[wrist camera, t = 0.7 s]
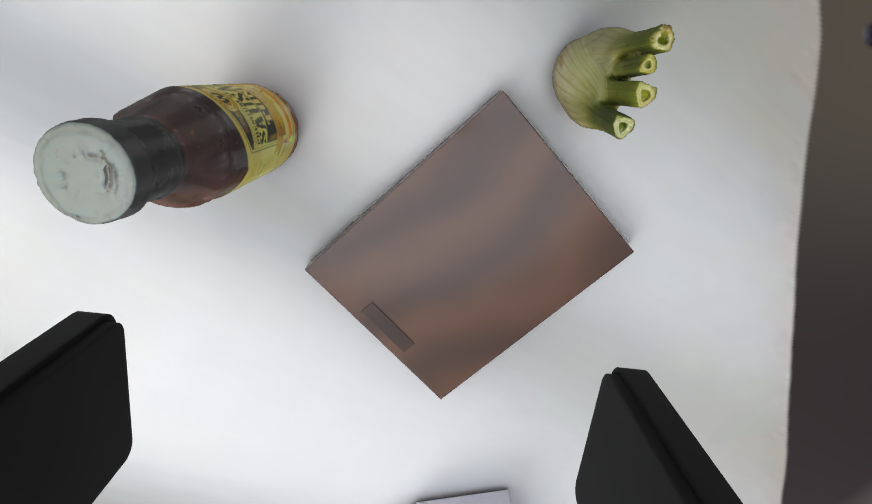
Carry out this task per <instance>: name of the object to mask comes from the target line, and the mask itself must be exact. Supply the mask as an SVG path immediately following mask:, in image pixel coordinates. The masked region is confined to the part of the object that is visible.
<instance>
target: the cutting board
mask: <svg viewBox="0 0 872 504" xmlns="http://www.w3.org/2000/svg"><path fill="white" fill-rule="evenodd" d="M633 252H634V251H633V250H632V249H631V248H630V246H629V245H628V244H627V243H626V241H625V240H624V239H623V238H622V236H621V235H620V234H619V233H618V232H617V230H616V229H615V228H614V227H613V225H612V224H611V223H610V222H609V220H608V219H607V218H606V217H605V216H604V214H603V213H602V212H601V211H600V209H599V208H598V207H597V206H596V204H595V203H594V202H593V201H592V200H591V198H590V197H589V196H588V195H587V193H586V192H585V191H584V190H583V188H582V187H581V186H580V185H579V184H578V182H577V181H576V180H575V179H574V177H573V176H572V175H571V174H570V172H569V171H568V170H567V169H566V168H565V166H564V165H563V164H562V163H561V161H560V160H559V159H558V158H557V156H556V155H555V154H554V153H553V152H552V150H551V149H550V148H549V147H548V145H547V144H546V143H545V142H544V140H543V139H542V138H541V137H540V136H539V134H538V133H537V132H536V131H535V129H534V128H533V127H532V126H531V124H530V123H529V122H528V121H527V120H526V118H525V117H524V116H523V115H522V113H521V112H520V111H519V110H518V108H517V107H516V106H515V105H514V104H513V102H512V101H511V100H510V99H509V97H508V96H507V95H506V94H505V92H504V91H501V90H500V91H499V92H498V93H497V94H496V95H495V96H494V97H493V98H491V99H490V100H489V101H488V102H487V103H486V104H485V105H484V106H483V107H481V108H480V109H479V110H478V111H477V112H476V113H475V114H474V115H473V116H471V117H470V118H469V119H468V120H467V121H466V122H465V123H464V124H463V125H461V126H460V127H459V128H458V129H457V130H456V131H455V132H454V133H453V134H451V135H450V136H449V137H448V138H447V139H446V140H445V141H444V142H443V143H441V144H440V145H439V146H438V147H437V148H436V149H435V150H434V151H433V152H431V153H430V154H429V155H428V156H427V157H426V158H425V159H424V160H423V161H421V162H420V163H419V164H418V165H417V166H416V167H415V168H414V169H413V170H411V171H410V172H409V173H408V174H407V175H406V176H405V177H404V178H403V179H401V180H400V181H399V182H398V183H397V184H396V185H395V186H394V187H393V188H392V189H390V190H389V191H388V192H387V193H386V194H385V195H384V196H383V197H382V198H380V199H379V200H378V201H377V202H376V203H375V204H374V205H373V206H372V207H370V208H369V209H368V210H367V211H366V212H365V213H364V214H363V215H362V216H360V217H359V218H358V219H357V220H356V221H355V222H354V223H353V224H352V225H350V226H349V227H348V228H347V229H346V230H345V231H344V232H343V233H342V234H340V235H339V236H338V237H337V238H336V239H335V240H334V241H333V242H332V243H330V244H329V245H328V246H327V247H326V248H325V249H324V250H323V251H322V252H320V253H319V254H318V255H317V256H316V257H315V258H314V259H313V260H312V261H310V262H309V264H308V265H307V267H306V269H305V270H306V271H307V272H308V273H309V274H310V275H311V276H312V277H313V278H314V279H315V280H316V281H317V282H318V283H319V284H320V285H322V286H323V287H324V288H325V289H326V290H327V291H328V292H329V293H330V294H331V295H332V296H333V297H334V298H335V299H336V300H337V301H338V302H339V303H340V304H341V305H343V306H344V307H345V308H346V309H347V310H348V311H349V312H350V313H351V314H352V315H353V316H354V317H355V318H356V319H357V320H358V321H359V322H360V323H361V324H362V325H364V326H365V327H366V328H367V329H368V330H369V331H370V332H371V333H372V334H373V335H374V336H375V337H376V338H377V339H378V340H379V341H380V342H381V343H382V344H384V345H385V346H386V347H387V348H388V349H389V350H390V351H391V352H392V353H393V354H394V355H395V356H396V357H397V358H398V359H399V360H400V361H401V362H402V363H403V364H405V365H406V366H407V367H408V368H409V369H410V370H411V371H412V372H413V373H414V374H415V375H416V376H417V377H418V378H419V379H420V380H421V381H422V382H423V383H425V384H426V385H427V386H428V387H429V388H430V389H431V390H432V391H433V392H434V393H435V394H436V395H437V396H438V397H439V398H440V399H442V398H443V397H444V396H446V395H447V394H448V393H450V392H451V391H452V390H454V389H455V388H456V387H457V386H459V385H460V384H461V383H463V382H464V381H465V380H467V379H468V378H469V377H471V376H472V375H473V374H475V373H476V372H477V371H478V370H480V369H481V368H482V367H484V366H485V365H486V364H488V363H489V362H490V361H492V360H493V359H494V358H495V357H497V356H498V355H499V354H501V353H502V352H503V351H505V350H506V349H507V348H509V347H510V346H511V345H513V344H514V343H515V342H516V341H518V340H519V339H520V338H522V337H523V336H524V335H526V334H527V333H528V332H530V331H531V330H532V329H533V328H535V327H536V326H537V325H539V324H540V323H541V322H543V321H544V320H545V319H547V318H548V317H549V316H551V315H552V314H553V313H554V312H556V311H557V310H558V309H560V308H561V307H562V306H564V305H565V304H566V303H568V302H569V301H570V300H571V299H573V298H574V297H575V296H577V295H578V294H579V293H581V292H582V291H583V290H585V289H586V288H587V287H588V286H590V285H591V284H592V283H594V282H595V281H596V280H598V279H599V278H600V277H602V276H603V275H604V274H606V273H607V272H608V271H609V270H611V269H612V268H613V267H615V266H616V265H617V264H619V263H620V262H621V261H623V260H624V259H625V258H626V257H628V256H629V255H630V254H632V253H633Z"/></svg>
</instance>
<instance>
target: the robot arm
mask: <svg viewBox="0 0 872 504" xmlns="http://www.w3.org/2000/svg"><path fill="white" fill-rule="evenodd" d="M131 447H132V428H131V415H130V402H129V389H128V375H127V362H126V349H125V336H124V328H123V326H122V324H120V323H116V320H115V319H114V317H113V316H112V315H110V314H101V313H92V312H82V311H77V312H75V313H73V314H71V315H70V316H68V317H67V318H65V319H64V320H62V321H61V322H59V323H58V324H56V325H55V326H53V327H52V328H50V329H49V330H47V331H46V332H44V333H43V334H41V335H40V336H38V337H37V338H35V339H34V340H32V341H31V342H29V343H28V344H26V345H25V346H23V347H22V348H20V349H19V350H17V351H16V352H14V353H13V354H11V355H10V356H8V357H7V358H5V359H4V360H3V361H1V362H0V504H92V503H93V502H94V500H95V499H96V498H97V497H98V495H99V494H100V493H101V491H102V490H103V489H104V488H105V486H106V485H107V484H108V483H109V481H110V480H111V479H112V478H113V476H114V475H115V474H116V472H117V471H118V470H119V469H120V467H121V466H122V465H123V464H124V462H125V461H126V459H127V458H128V456H129V453H130V450H131ZM575 493H576V501H577V504H743V503H742V502H741V500H740V499H739V498H738V496H737V495H736V493H735V492H734V491H733V489H732V488H731V486H730V485H729V484H728V482H727V481H726V479H725V478H724V477H723V475H722V474H721V473H720V471H719V470H718V468H717V467H716V466H715V464H714V463H713V461H712V460H711V459H710V457H709V456H708V454H707V453H706V452H705V450H704V449H703V448H702V446H701V445H700V443H699V442H698V441H697V439H696V438H695V436H694V435H693V434H692V432H691V431H690V430H689V428H688V427H687V425H686V424H685V423H684V421H683V420H682V418H681V417H680V416H679V414H678V413H677V411H676V410H675V409H674V407H673V406H672V405H671V403H670V402H669V400H668V399H667V398H666V396H665V395H664V393H663V392H662V391H661V389H660V388H659V386H658V385H657V384H656V382H655V381H654V380H653V378H652V377H651V375H650V374H649V373H648V372H647V371H646V370H638V369H629V368H619V367H617V368H615V369H614V370H613V372H612V374H605V375H604V377H603V379H602V382H601V386H600V390H599V394H598V398H597V402H596V406H595V410H594V414H593V418H592V421H591V425H590V429H589V433H588V437H587V441H586V445H585V449H584V453H583V457H582V461H581V464H580V468H579V472H578V476H577V480H576V487H575Z"/></svg>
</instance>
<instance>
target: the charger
mask: <svg viewBox="0 0 872 504" xmlns="http://www.w3.org/2000/svg"><path fill="white" fill-rule="evenodd" d="M416 504H511V501H510V496H509V491H508V490H501V491H494V492H487V493H480V494H472V495H465V496H458V497H451V498H444V499H437V500H430V501H423V502H417V503H416Z"/></svg>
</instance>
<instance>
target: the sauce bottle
mask: <svg viewBox="0 0 872 504" xmlns="http://www.w3.org/2000/svg"><path fill="white" fill-rule="evenodd" d="M297 139H298V123H297V120H296V118H295V116H294V113H293V112H292V110H291V108H290V107H289V105H288V104H287V102H286V101H285V100H283V99H282V98H281V97H280V96H279V95H278V94H277V93H274V92H273V91H270V90H268V89H266V88H264V87H261V86H258V85H255V84H224V85H216V84H213V85H192V86H170V87H166V88H163V89H160V90H158V91H157V92H155V93H153V94H151V95H149V96H147V97H145V98H143V99H141V100H139V101H137V102H136V103H134V104H132V105H130V106H128V107H126V108H124V109H122V110H120V111H119V112H118V113H116V114H115V115H114V116H113V120H106V119H102V118H82V119H78V120H72V121H67V122H64V123H61V124H59V125H57V126H55V127H53V128H51V129H50V130H48V131H47V132H46V133H45V134H44V135H43V137H42V138H41V139H40V140H39V141H38V144H37V146H36V148H35V152H34V156H33V164H34V173H35V176H36V178H37V184H38V186H39V187H40V189H41V191H42V193H43V194H44V196H45V197H46V198H47V200H48V201H49V202H50V203H51V204H52V205H53V206H54V207H55V208H56V209H57V210H59V211H60V212H62V213H63V214H65V215H67V216H70V217H71V218H73V219H75V220H77V221H79V222H83V223H87V224H104V223H109V222H113V221H116V220H119V219H122V218H126V217H128V216H131V215H133V214H135V213H136V212H138V211H139V210H141V209H142V208H143V206H144V205H145V204H146V202H149V201H150V202H153V203H155V204H158V205H162V206H166V207H174V208H187V207H195V206H199V205H201V204H204V203H206V202H209V201H211V200H212V199H216V198H219V197H222V196H224V195H227V194H228V193H230V192H232V191H234V190H236V189H238V188H240V187H242V186H243V185H245V184H247V183H249V182H251V181H253V180H255V179H257V178H259V177H261V176H263V175H265V174H267V173H269V172H271V171H273V170H274V169H276V168H278V167H279V166H281V165H282V164H283V163H284V162H285V160H286V159H287V158H288V157H290V155H291V154H292V153H293V152H294V149H295V147H296V145H297Z"/></svg>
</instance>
